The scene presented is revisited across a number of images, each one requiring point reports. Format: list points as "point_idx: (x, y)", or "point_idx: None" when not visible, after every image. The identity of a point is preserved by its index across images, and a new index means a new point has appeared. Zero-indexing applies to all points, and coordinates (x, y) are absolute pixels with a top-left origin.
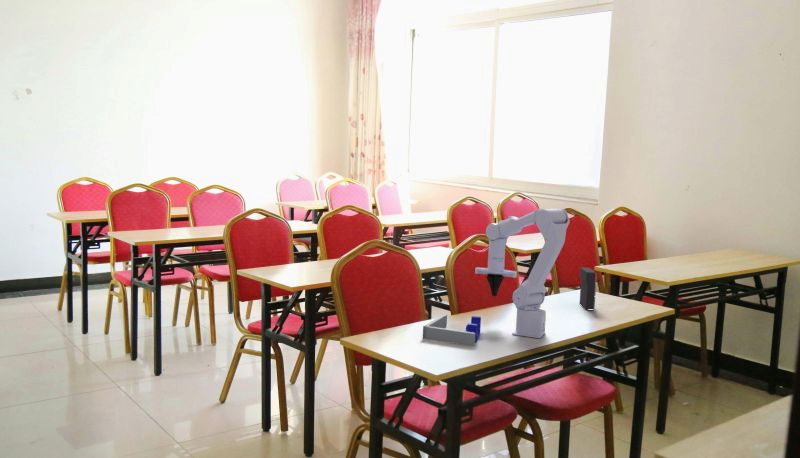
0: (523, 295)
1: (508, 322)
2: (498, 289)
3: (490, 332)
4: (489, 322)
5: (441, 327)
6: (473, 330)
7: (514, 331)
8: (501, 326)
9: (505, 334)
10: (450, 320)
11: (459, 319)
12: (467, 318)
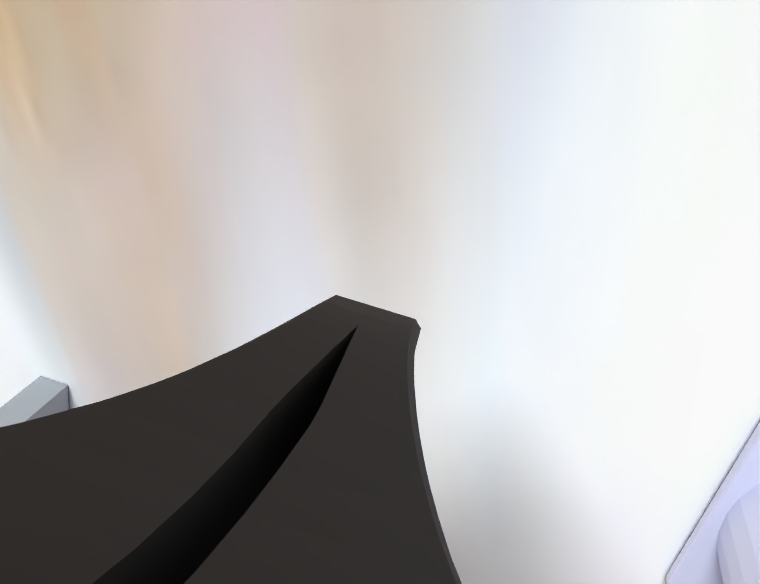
0: None
1: (687, 61)
2: (412, 401)
3: (454, 518)
4: (416, 144)
5: None
6: None
7: (700, 544)
8: (569, 298)
9: (597, 564)
10: (16, 177)
11: (74, 103)
12: (133, 18)
